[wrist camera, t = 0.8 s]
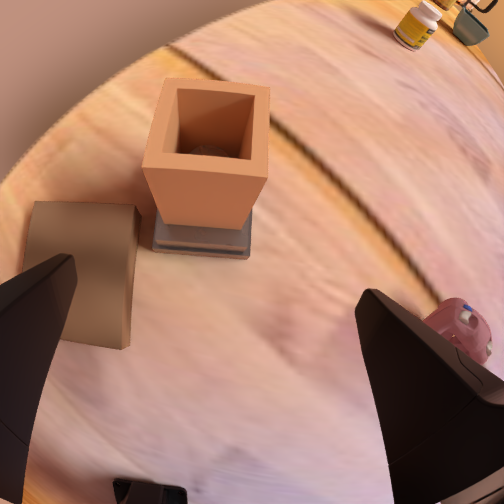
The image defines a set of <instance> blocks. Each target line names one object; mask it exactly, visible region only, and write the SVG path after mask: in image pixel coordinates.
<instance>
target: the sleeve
mask: <svg viewBox="0 0 504 504" xmlns="http://www.w3.org/2000/svg"><path fill="white" fill-rule="evenodd" d="M269 112H270V87H264V86H257V85H250V84H243V83H235V82H226V81H215V80H203V79H185V78H165V81H164V84H163V87H162V90H161V94H160V97H159V100H158V104H157V107H156V110H155V114H154V118H153V121H152V125H151V129H150V133H149V136H148V141H147V145H146V149H145V153H144V157H143V162H142V166H141V168H142V170H143V173H144V175H145V178H146V181H147V183H148V186H149V188H150V191H151V193H152V196H153V198H154V200H155V203H156V205H157V208H158V210H159V212H160V215H161V217H162V220H163V222H164V224H173V225H186V226H199V227H211V228H223V229H235V230H241V229H242V227H243V225H244V223H245V221H246V219H247V217H248V215H249V213H250V211H251V209H252V207H253V205H254V203H255V201H256V200H257V198H258V196H259V194H260V192H261V190H262V188H263V186H264V184H265V182H266V180H267V178H268V154H269ZM202 145H214V146H217V147H219V148H221V149H222V150H223V151H224V152H225V153H226V154H227V156H228V158H226V157H216V156H205V155H192V154H189V153H190V152H191V151H192V150H193V149H195V148H197V147H199V146H202Z"/></svg>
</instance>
